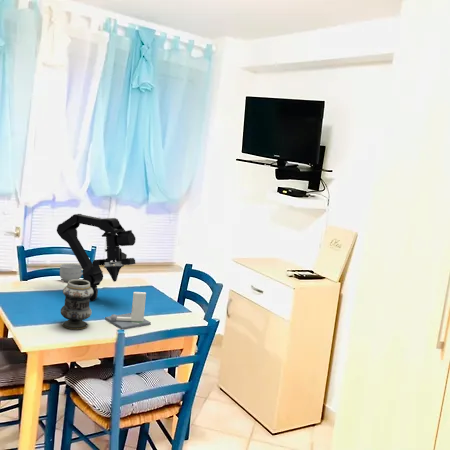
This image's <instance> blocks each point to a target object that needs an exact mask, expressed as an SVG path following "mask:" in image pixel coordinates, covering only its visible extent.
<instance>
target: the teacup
mask: <svg viewBox="0 0 450 450" xmlns="http://www.w3.org/2000/svg"><path fill="white" fill-rule="evenodd" d="M59 276H60V279H62V280H63V281H64V282H67V283H68V281H69V280H72V279H81V277H82V276H83V269H82V267H81V265H80V263H63V264H60V265H59Z"/></svg>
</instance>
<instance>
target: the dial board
mask: <svg viewBox="0 0 450 450" xmlns="http://www.w3.org/2000/svg"><path fill="white" fill-rule="evenodd" d="M131 313H132V312H129V313H123V314H116V315H117V317H131ZM104 320H105V321H107V322H108V323H110V324H111V325H114V326H115V327H116V328H118V329H120V330H122V329H124V330H129V329H134V328H140V327H145V326H150V325H151V322H150V321H149V320H147V319H146V318H144V319H143V321H121V320H117V321H112V320H111V315H110V316H105V318H104Z"/></svg>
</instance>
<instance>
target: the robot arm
mask: <svg viewBox="0 0 450 450" xmlns="http://www.w3.org/2000/svg"><path fill="white" fill-rule="evenodd" d="M80 225H85V226H90V227H95V228H97V229H99V230H101V231H104V232H103V234H102V235H101V237H102V238H105V241H106V242H105V243H106V246H105V247H106V248H105V249H104V252H106V258H101V259H100V258H99V259H93V261H91V259H90V257H89V255H88V254H87V252H86V250H85V248H84V247H83V245H82V243H81V241H80V239H79V238H78V227H80ZM56 233H57V234H58V236H59V237H60V238H61V239H62V240H63V241H65V242H66V243H67V244H68V246H69V247H70V249H71V251H72V252H73V254H74V257H75V258H76V260H77V262H78V264H79V265H81V267H82V272H83V274H82V279H81V280H86V281H89V282H90V287H91V288H92V289H93V292H94V293H93V295H92V296H91V297H90V302H94V301H95V300H96V299H98V293H99V289H98V286H100V284H101V282H102V281H103V280H104V273H103V272H104V271H103V270H102V269H101V267H100V266H103V268H104V269H106V271H107V273H109V275H110V278H111V279H112V281H113V282H114V283H115V282H117V281H118V276H119V273H120V271H121V269H122V268H123V267H124V266H131V265H136V259H135V258H134V257H128V255H127V253H125V252H123V251H122V248H120V247H127V246H129V247H130V246H134V245H136V241H137V240H136V235H135V234H134V233H133V230H132V229H129V230H125V228H124V227H123V226H122V224H121V223H120V221H119V219H118V218H115V217H109V218H108V217H107V218H106V217H105V218H101V217H96V216H92V215H85V214H82V213H75V214H73V215H71V216H70V217H69V218H67V219H65V220H64V221H63V222H61V223H59V224H58V225H57V227H56Z"/></svg>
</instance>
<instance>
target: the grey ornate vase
mask: <svg viewBox="0 0 450 450" xmlns="http://www.w3.org/2000/svg"><path fill="white" fill-rule="evenodd" d="M93 293H94V292H93V289H92V288H91V287H90V282H89V281H86V280H82V279H81V278H80V279H72V280H69V281H68V282H67V285H66V286H64V287H63V289H62V294H63V295H64V296H65V298H64V305H63V306H62V307H61V308H60V315H61V316H62V317H63V318H64V319H67V320H65V321H63V322H62V327H63V328H65V329H68V330H77V331H78V330H83V329H86V328H87V327H88V325H89V324H88V323H87V322H86V321H84V320H87V319H89V318H90V317H91V315H92V314H93V312H92V309H91V308H90V302H91V301H90V297H91V296H92V295H93Z"/></svg>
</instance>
